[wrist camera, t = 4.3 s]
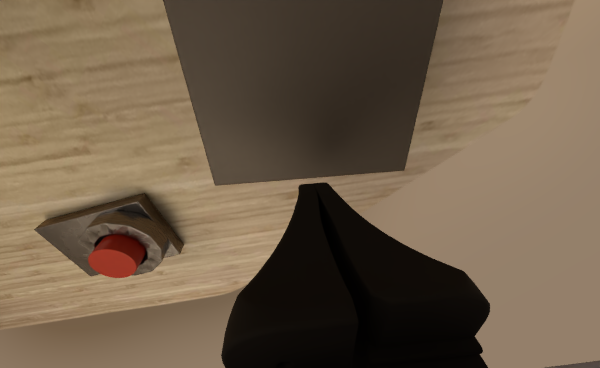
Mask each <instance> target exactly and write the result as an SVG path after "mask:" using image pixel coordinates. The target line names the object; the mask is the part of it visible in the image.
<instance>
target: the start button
mask: <svg viewBox="0 0 600 368" xmlns="http://www.w3.org/2000/svg"><path fill="white" fill-rule="evenodd" d="M145 254H146V250H145V247H144V246H143V245H142V244H141V243H140V242H139V241H137V240H135V239H133V238H131V237H129V236H127V235H119V234H112V235H108V236H106V237H105V238H103V239H102V241H101V242H100V243H99V244H98V245H97V247H96V248H95V249H94V250H93V251H92V253H91V254H90V255H89V257H88V262H89V265H90V266H91V267H92V268H93V269H94V270H95V271H97V272H98V273H100V274H102V275H105V276H108V277H114V278H124V277H128V276H131V275H132V274H134V273H135V272H136V270H137V268H138V266H139V265H140V263H141V261H142V260H143V258H144V256H145Z"/></svg>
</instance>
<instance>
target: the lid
mask: <svg viewBox="0 0 600 368" xmlns="http://www.w3.org/2000/svg"><path fill="white" fill-rule="evenodd" d="M163 2H164V5H165V9H166V12H167V16H168V20H169V23H170V27H171V30H172V34H173V37H174V41H175V45H176V48H177V52H178V55H179V59H180V62H181V66H182V70H183V73H184V77H185V80H186V84H187V87H188V91H189V95H190V98H191V102H192V105H193V109H194V112H195V116H196V119H197V123H198V127H199V130H200V134H201V137H202V141H203V144H204V148H205V152H206V155H207V159H208V162H209V166H210V169H211V173H212V177H213V180H214V184H215V185H228V184H241V183H254V182H266V181H279V180H291V179H304V178H316V177H329V176H341V175H354V174H366V173H379V172H391V171H404V170H405V165H406V161H407V157H408V152H409V148H410V144H411V139H412V135H413V130H414V126H415V122H416V117H417V113H418V109H419V104H420V100H421V96H422V91H423V87H424V82H425V78H426V74H427V69H428V65H429V61H430V56H431V52H432V47H433V43H434V39H435V34H436V30H437V26H438V21H439V17H440V13H441V8H442V4H443V0H163Z"/></svg>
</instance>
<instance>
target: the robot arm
mask: <svg viewBox="0 0 600 368" xmlns="http://www.w3.org/2000/svg"><path fill="white" fill-rule="evenodd" d="M489 312H490V304H489V302H488V301H487V299H486V298H485V297H484V295H483V294H482V293H481V291H480V290H479V289H478V287H477V286H476V285H475V284H474V282H473V281H472V280H471V279H470V278H469V277H468V275H467V274H466V273H465V272H464V271H462V270H459V269H457V268H454V267H452V266H450V265H447V264H445V263H442V262H440V261H437V260H435V259H432V258H430V257H428V256H426V255H424V254H422V253H419V252H418V251H416V250H414V249H412V248H410V247H408V246H406V245H404V244H402V243H400V242H399V241H397V240H395V239H393V238H392V237H390V236H388V235H387V234H385V233H384V232H382V231H381V230H379V229H378V228H376V227H375V226H373V225H372V224H371V223H369V222H368V221H367V220H365V219H364V218H363V217H362V216H360V215H359V214H358V213H357V212H356V211H355V210H353V209H352V208H351V207H350V206H349V205H348V204H347V203H346V202H345V201H344V200H343V199H342V198H341V197H340V196H339V195H338V194H337V193H336V192H335V191H334V190H333V189H332V187H331V186H330V185H329V184H328V183H314V184H301V185H300V186H299V195H298V200H297V203H296V207H295V210H294V213H293V215H292V218H291V220H290V223H289V225H288V227H287V229H286V231H285V233H284V235H283V237H282V239H281V241H280V242H279V244H278V246H277V247H276V249H275V250H274V252H273V253H272V255H271V256H270V258H269V259H268V260H267V262H266V263H265V264H264V266H263V267H262V268H261V270H260V271H259V272H258V273H257V275H256V276H255V277H254V278H253V279H252V280H251V281H250V282H249V284H248V285H247V286H246V287H245V288H244V289H243V290H242V291H241V292H240V293H239V295H238V296H237V299H236V301H235V303H234V306H233V309H232V311H231V314H230V317H229V320H228V324H227V328H226V331H225V337H224V343H223V349H222V355H221V356H222V361H223V364H224V366H225V368H488V367H487V365H486V364H485V362H484V360H483V359H482V357H481V356H480V354H481V353H482V352H483V350H482V347H481V345H480V344H479V342H478V341H477V339H476V338H475V335H476V333H477V332H478V331H479V329H480V328H481V326H482V325H483V324H484V322H485V321H486V319H487V317H488V315H489ZM546 368H600V361H593V362H586V363H578V364H570V365H561V366H555V367H546Z"/></svg>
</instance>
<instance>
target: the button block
mask: <svg viewBox="0 0 600 368" xmlns="http://www.w3.org/2000/svg"><path fill="white" fill-rule="evenodd" d="M34 230H35V231H36V232H38V233H39V234H40V235H41V236H43V237H44V238H45V239H46V240H47V241H49V242H50V243H51V244H52V245H53V246H55V247H56V248H57V249H58V250H59V251H61V252H62V253H63V254H64V255H65V256H67V257H68V258H69V259H70V260H71V261H73V262H74V263H75V264H76V265H78V266H79V267H80V268H81V269H82V270H84V271H85V272H86V273H87V274H88V275H90V276H94V275H98V274H100V273H98V272H97V271H95V270H94V269H93V268H92V267H91V266H90V265H89V262H88V257H89V255H90V254H91V253H92V251H93V250H94V249H95V248H96V247H97V245H98V244H99V243H100V242H101V241H102V239H103V238H105V237H106V236H108V235H112V234H119V235H127V236H129V237H131V238H133V239H135V240H137V241H139V242H140V243H141V244H142V245H143V246H144V247H145V250H146V254H145V256H144V258H143V260H142V261H141V263H140V265H139V266H138V268H137V270H136V272H135V273H134V274H132V275H139V274H143V273H147V272H151V271H153V270H154V269H155V268H156V267H157V266H158V265H159V264H160V263H161V262H162V260H163V258H166V257H170V256H174V255H178V254H180V253H181V250H182V248H183V246H184V244H183V243H182V241H181V240H180V239H179V238H178V236H177V235H176V234H175V232H174V231H173V230H172V228H171V227H170V226H169V224H168V223H167V222H166V220H165V219H164V218H163V217H162V215H161V214H160V213H159V211H158V210H157V209H156V207H155V206H154V205H153V203H152V202H151V201H150V199H149V198H148V197H147V196H146V194H145V193H144V194H140V195H136V196H133V197H129V198H125V199H122V200H118V201H114V202H111V203H107V204H103V205H99V206H96V207H92V208H88V209H85V210H81V211H77V212H74V213H70V214H66V215H63V216H59V217H55V218H52V219H48V220H45V221H44V222H43V223H41V224H40V225H39V226H38V227H37V228H35V229H34Z"/></svg>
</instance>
